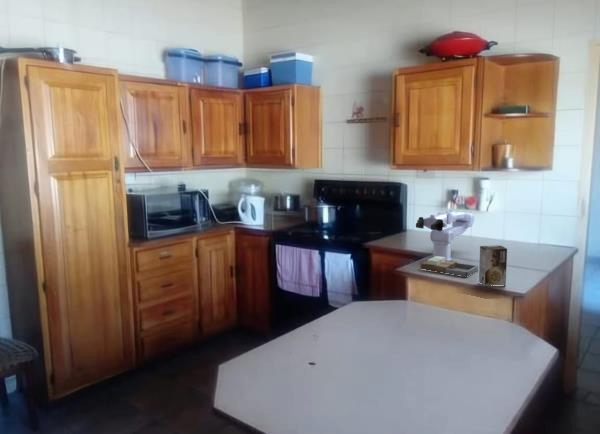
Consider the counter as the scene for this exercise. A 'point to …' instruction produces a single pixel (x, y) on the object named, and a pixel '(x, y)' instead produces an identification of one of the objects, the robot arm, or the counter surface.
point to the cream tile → (440, 258)
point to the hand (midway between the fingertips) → (424, 226)
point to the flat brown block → (439, 266)
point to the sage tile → (433, 261)
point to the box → (463, 269)
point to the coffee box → (492, 265)
